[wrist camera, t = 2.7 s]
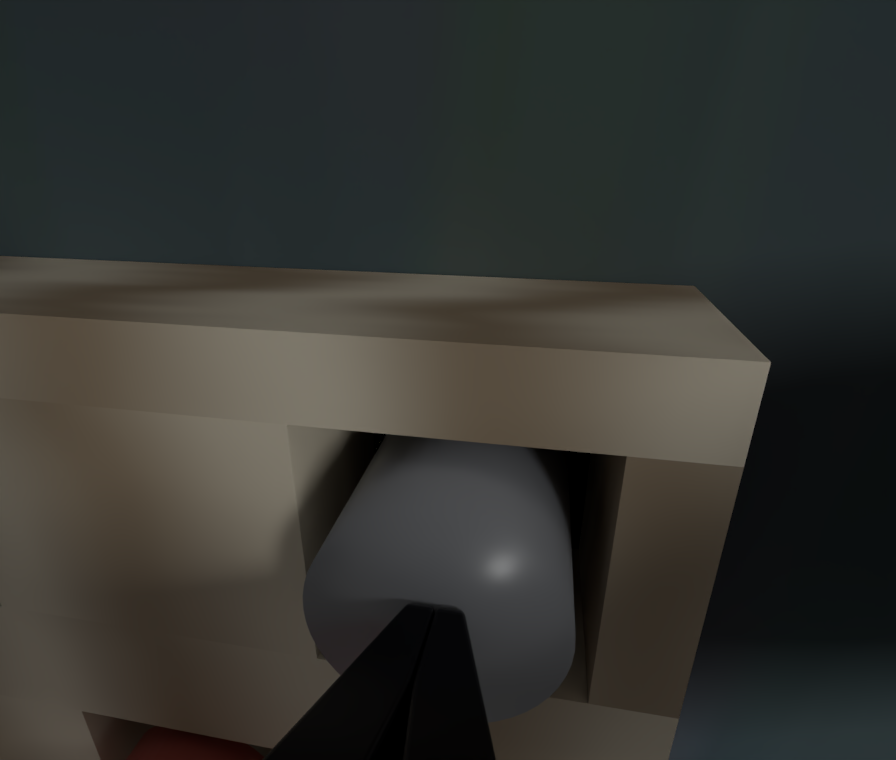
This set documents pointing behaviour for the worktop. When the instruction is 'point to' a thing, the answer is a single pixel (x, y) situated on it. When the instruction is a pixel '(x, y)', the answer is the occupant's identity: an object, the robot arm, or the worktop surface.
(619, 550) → the plug board
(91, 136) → the worktop surface
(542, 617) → the grey plug
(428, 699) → the robot arm
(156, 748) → the red plug
